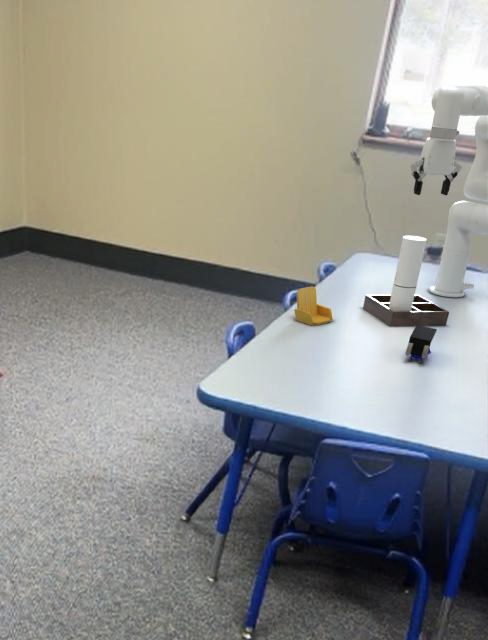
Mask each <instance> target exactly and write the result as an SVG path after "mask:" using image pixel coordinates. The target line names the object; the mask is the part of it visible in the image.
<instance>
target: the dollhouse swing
mask: <svg viewBox="0 0 488 640" xmlns="http://www.w3.org/2000/svg"><path fill="white" fill-rule="evenodd" d="M295 295H296V308H294V309H293V310H294V317H295V321H296V322H300V323H303V324H305V325H309V326H311V327H313V326H320V325H323V324H324V325H325V324H328V323H331V322H332V321H334V320H333V313H332V308H330V307H328V306H325V305H322V304H318V302H317V299H318V298H317V289H316V287H314V286H307V287H302V288H298V289H297V291H296V293H295Z"/></svg>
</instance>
